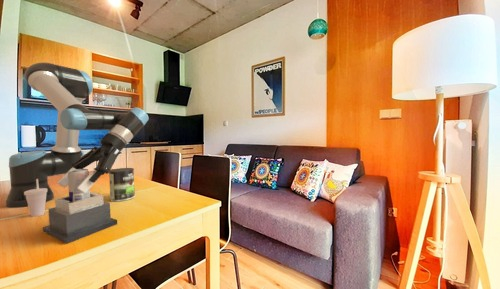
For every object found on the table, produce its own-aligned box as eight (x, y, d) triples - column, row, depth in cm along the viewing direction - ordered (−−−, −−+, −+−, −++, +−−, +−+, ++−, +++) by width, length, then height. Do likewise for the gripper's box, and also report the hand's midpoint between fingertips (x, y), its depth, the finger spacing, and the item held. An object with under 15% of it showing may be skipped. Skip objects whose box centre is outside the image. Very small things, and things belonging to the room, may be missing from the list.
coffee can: (139, 195, 103) (138, 167, 102) (123, 202, 93) (121, 171, 92) (122, 194, 105) (121, 167, 104) (104, 201, 95) (102, 171, 94)
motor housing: (43, 231, 66) (40, 199, 65) (92, 215, 78) (91, 188, 77) (66, 243, 58) (64, 207, 58) (117, 224, 71) (115, 194, 70)
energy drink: (78, 203, 70) (75, 168, 70) (94, 202, 71) (92, 168, 70) (65, 209, 65) (62, 171, 64) (83, 208, 65) (80, 171, 65)
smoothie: (53, 212, 82) (50, 178, 81) (31, 219, 76) (28, 181, 75) (43, 210, 84) (40, 177, 83) (21, 216, 78) (18, 180, 77)
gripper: (144, 146, 75) (101, 199, 62) (106, 145, 86) (63, 189, 74) (129, 132, 70) (79, 186, 57) (91, 132, 81) (42, 177, 69)
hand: (70, 188), depth 65 cm, fingers open, 13 cm apart
